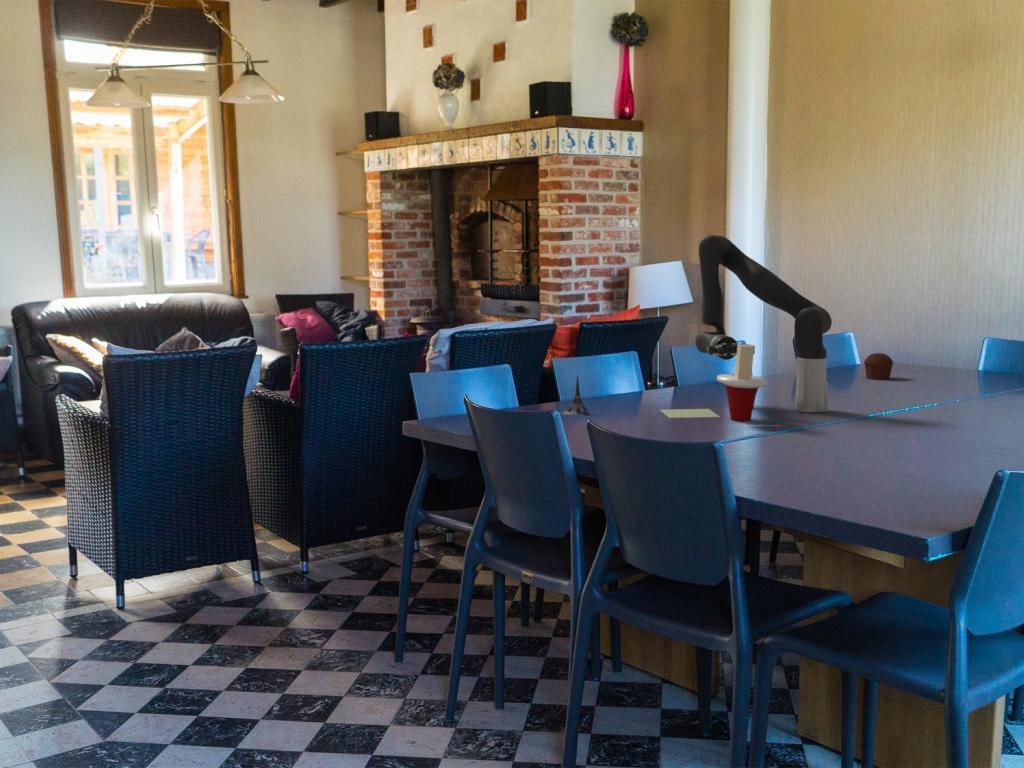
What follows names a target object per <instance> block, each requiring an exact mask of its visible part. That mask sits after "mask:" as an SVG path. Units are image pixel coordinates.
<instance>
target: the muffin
mask: <svg viewBox="0 0 1024 768" xmlns="http://www.w3.org/2000/svg"><path fill="white" fill-rule="evenodd" d="M863 364H864V370H865V378H866V379H867V380H872V381H873V380H874V381H875V380H877V381H885V380H886V381H887V380H890V379H891V374H892V373H891V372H892V369H893V365H894V361H893V359H892V358H891V357H890V356H889V355H887V354H886V353H882V352H875V353H871V354H870V355H868V356H867V357H866V358H865V359H864V360H863Z"/></svg>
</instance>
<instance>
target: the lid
mask: <svg viewBox="0 0 1024 768" xmlns="http://www.w3.org/2000/svg"><path fill="white" fill-rule="evenodd" d="M739 344H740V343H738V346H737V355H735V357H736V359H735V366H734V367H735V368H734V374H730V373H728V374H727V373H726V374H718V375H717V376H716V381H717V382H718V383H722V384H724V383H725V384H730V385H737V386H747V387H759V388H761V387H762V388H763V387H767V386H768V383H769V380H768V379H766V378H763V377H760V376H759V377H758V376H755V375H754V376H753V375H752V371H753V365H754V364H753V362H754V356H755V354H754V347H753V346H754V345H752V344H749V345H747V344H744V345H739ZM751 345H752V346H751ZM725 384H724V385H725Z"/></svg>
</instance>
